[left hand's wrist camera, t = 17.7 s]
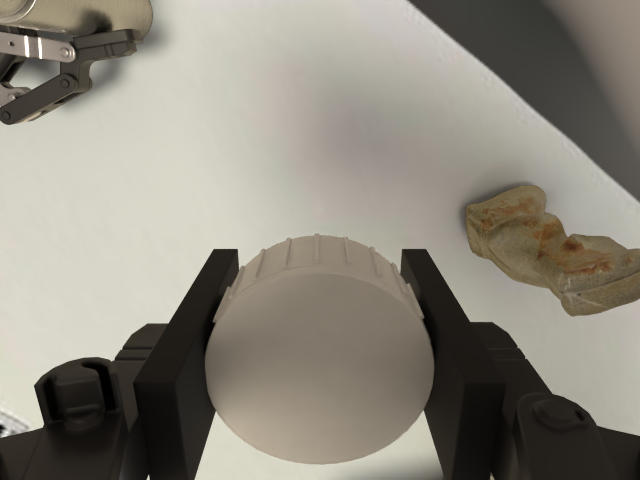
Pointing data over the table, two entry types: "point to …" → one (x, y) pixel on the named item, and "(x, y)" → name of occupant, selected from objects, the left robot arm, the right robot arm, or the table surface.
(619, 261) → the sculpture
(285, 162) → the table surface
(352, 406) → the lid
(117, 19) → the silver metal cylinder
